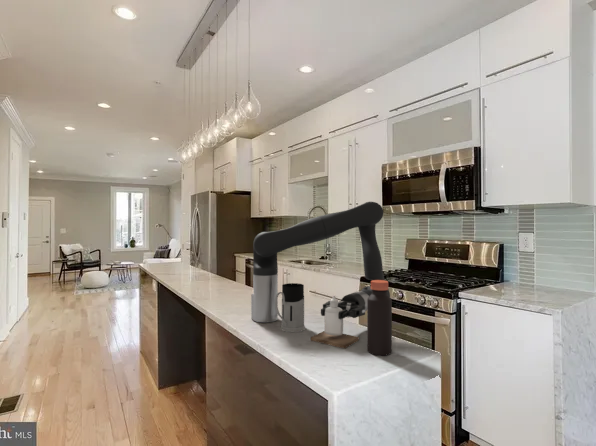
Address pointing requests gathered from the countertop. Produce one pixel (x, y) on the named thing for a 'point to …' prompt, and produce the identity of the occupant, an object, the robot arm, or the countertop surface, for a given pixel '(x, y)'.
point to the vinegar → (379, 319)
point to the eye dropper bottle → (333, 318)
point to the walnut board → (335, 339)
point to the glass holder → (292, 307)
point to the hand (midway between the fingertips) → (330, 314)
